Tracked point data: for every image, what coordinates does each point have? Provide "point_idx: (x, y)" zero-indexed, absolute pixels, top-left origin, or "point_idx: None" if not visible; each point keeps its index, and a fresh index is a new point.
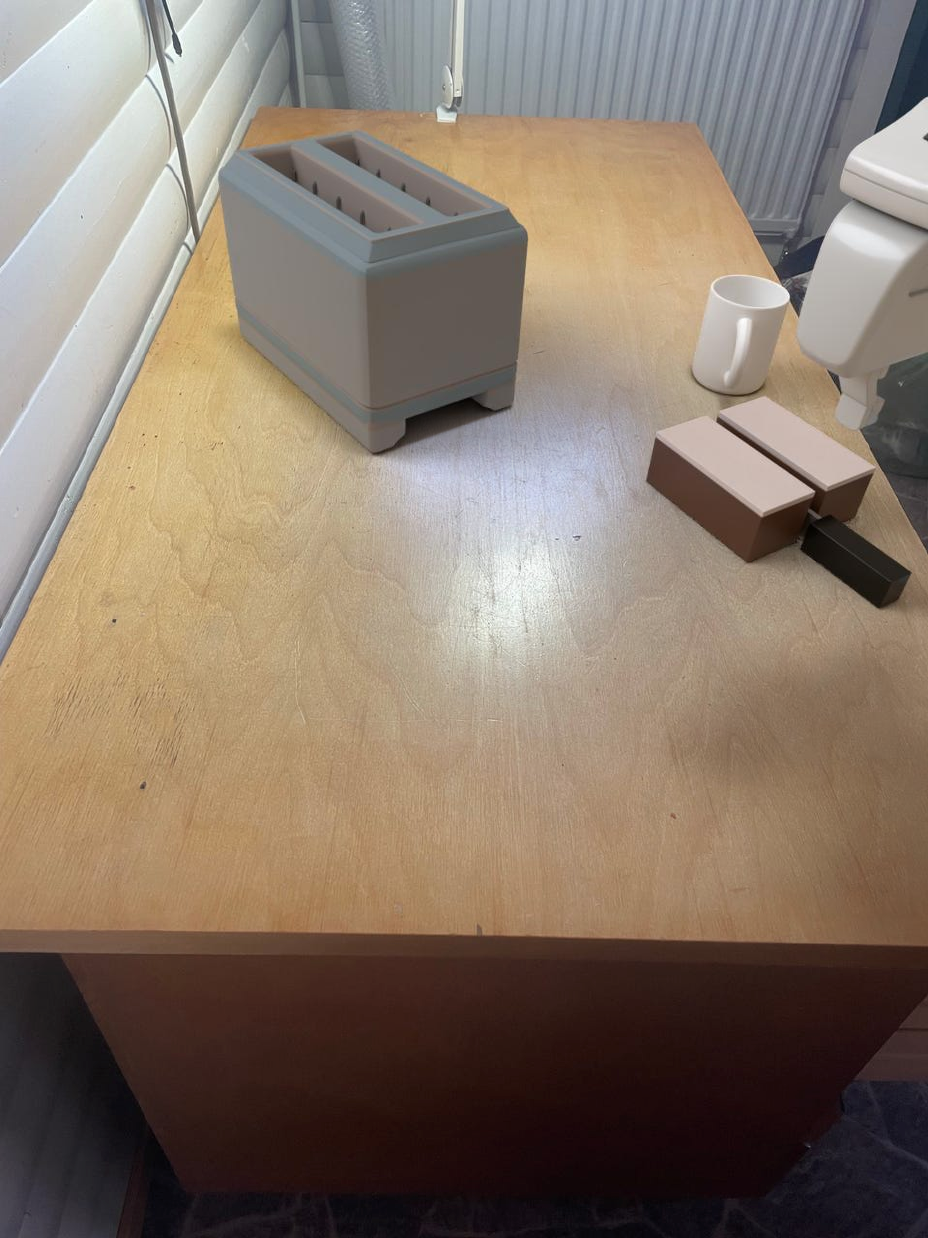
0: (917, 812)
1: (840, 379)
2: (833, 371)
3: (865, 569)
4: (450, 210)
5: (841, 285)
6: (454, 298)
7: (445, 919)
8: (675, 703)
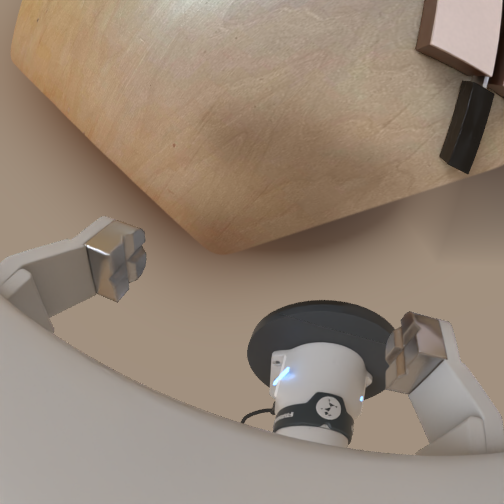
0: (281, 236)
1: (38, 249)
2: None
3: (454, 140)
4: None
5: None
6: None
7: (77, 123)
8: (237, 91)
